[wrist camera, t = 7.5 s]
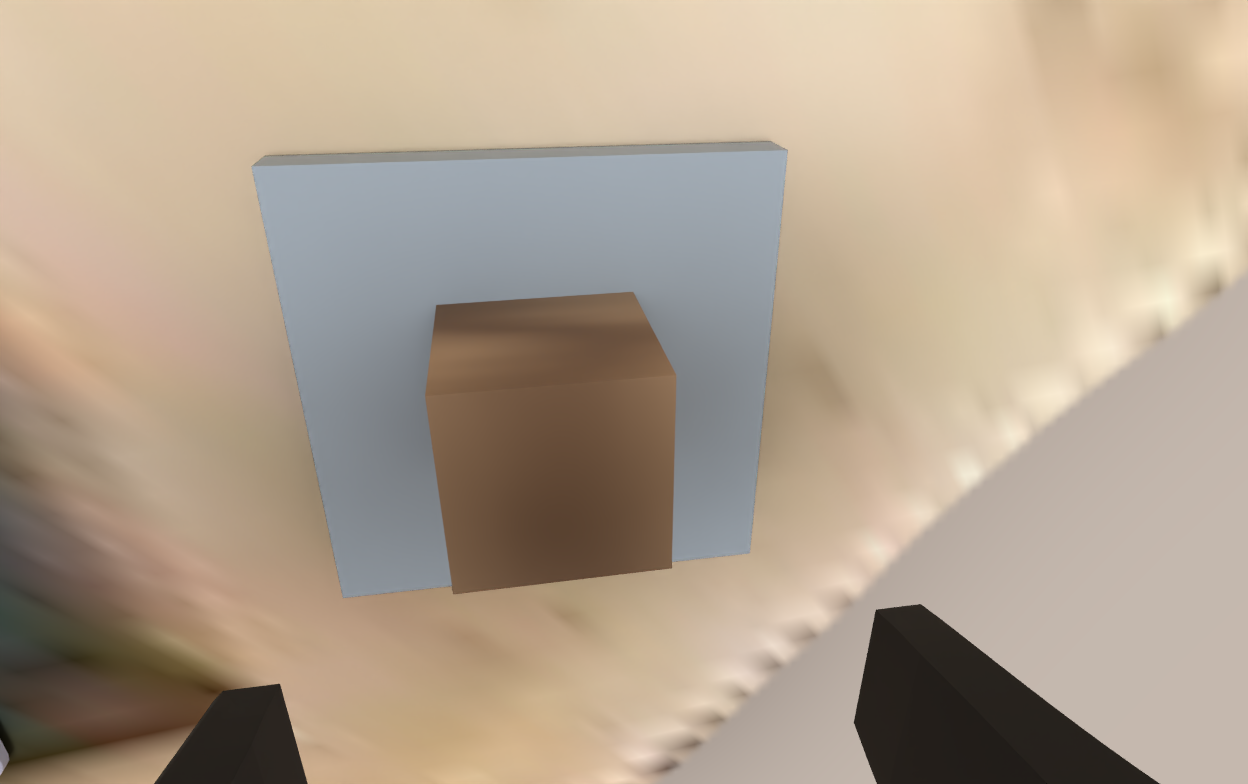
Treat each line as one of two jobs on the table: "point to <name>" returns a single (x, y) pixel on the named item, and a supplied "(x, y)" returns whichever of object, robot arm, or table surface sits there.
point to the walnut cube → (551, 439)
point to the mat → (508, 270)
